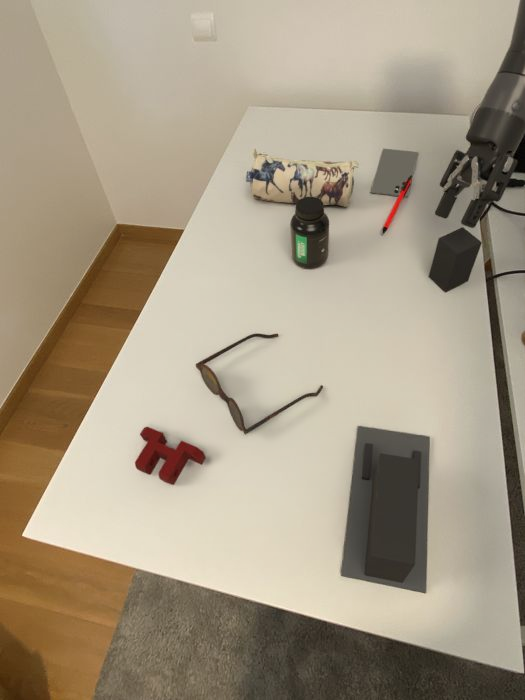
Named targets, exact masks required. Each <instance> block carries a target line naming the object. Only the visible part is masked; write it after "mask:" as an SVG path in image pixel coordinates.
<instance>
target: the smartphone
mask: <svg viewBox="0 0 525 700" xmlns="http://www.w3.org/2000/svg"><path fill="white" fill-rule="evenodd" d="M418 154H419V152H418V151H411V150H410V151H409V150H402V149H401V150H400V149H392V148H383V150H382V152H381V156H380V159H379V163H378V165H377V169H376V172H375V176H374V179H373V182H372V186H371V190H370V194H375V195H383V196H391V197H397V198H398V197H399V195H400V193H401V191H402V189H403V187H404V185H405V183H406V181H407V179H408V178H409V177H410V176H411V175H412V178H411V179H412V180H411V182H410V184H409V186H408V188H407V190H406V192H405V194H404V196H403V198H406V199H407V198H408V197H409V194H410V190H411V186H412V181H413V175H414V171H415V167H416V163H417V159H418Z"/></svg>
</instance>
